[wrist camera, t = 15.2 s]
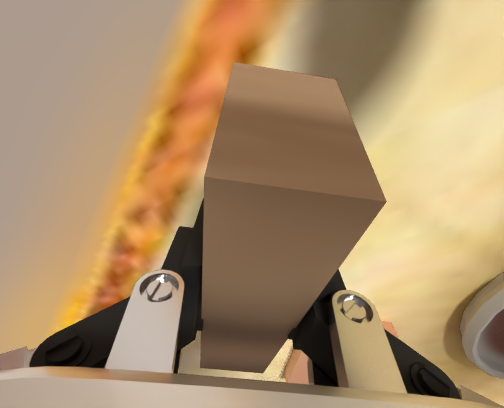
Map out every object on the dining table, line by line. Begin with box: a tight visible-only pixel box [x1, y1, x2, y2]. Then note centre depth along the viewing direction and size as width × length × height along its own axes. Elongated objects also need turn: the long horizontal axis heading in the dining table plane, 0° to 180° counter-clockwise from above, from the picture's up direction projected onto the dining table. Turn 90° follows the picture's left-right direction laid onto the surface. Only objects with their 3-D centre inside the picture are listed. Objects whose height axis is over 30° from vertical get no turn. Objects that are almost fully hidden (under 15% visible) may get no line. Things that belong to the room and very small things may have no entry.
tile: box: [285, 321, 398, 384], centre depth 28 cm, size 2×8×10 cm
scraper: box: [200, 62, 387, 373], centre depth 12 cm, size 18×7×5 cm, turn 171°
